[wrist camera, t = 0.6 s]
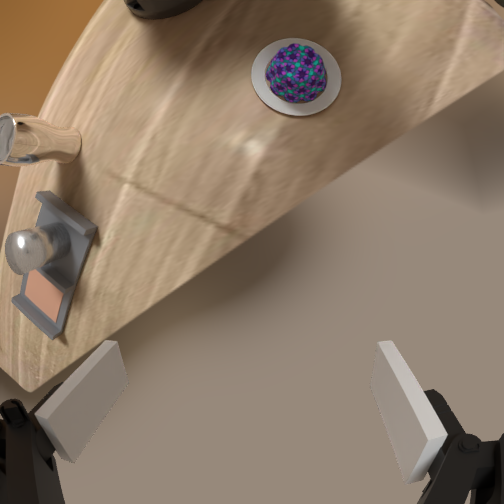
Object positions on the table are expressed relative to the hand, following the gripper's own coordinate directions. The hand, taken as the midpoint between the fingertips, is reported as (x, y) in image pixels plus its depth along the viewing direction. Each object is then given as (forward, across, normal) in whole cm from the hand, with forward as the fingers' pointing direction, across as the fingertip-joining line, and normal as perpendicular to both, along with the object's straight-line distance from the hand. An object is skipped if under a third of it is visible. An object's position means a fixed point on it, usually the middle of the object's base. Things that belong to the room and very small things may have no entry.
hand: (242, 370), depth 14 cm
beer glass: (+28, -30, +18) cm, 45 cm away
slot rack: (+27, -36, -2) cm, 45 cm away
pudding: (+28, +5, +23) cm, 37 cm away
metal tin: (+26, -33, +3) cm, 43 cm away
